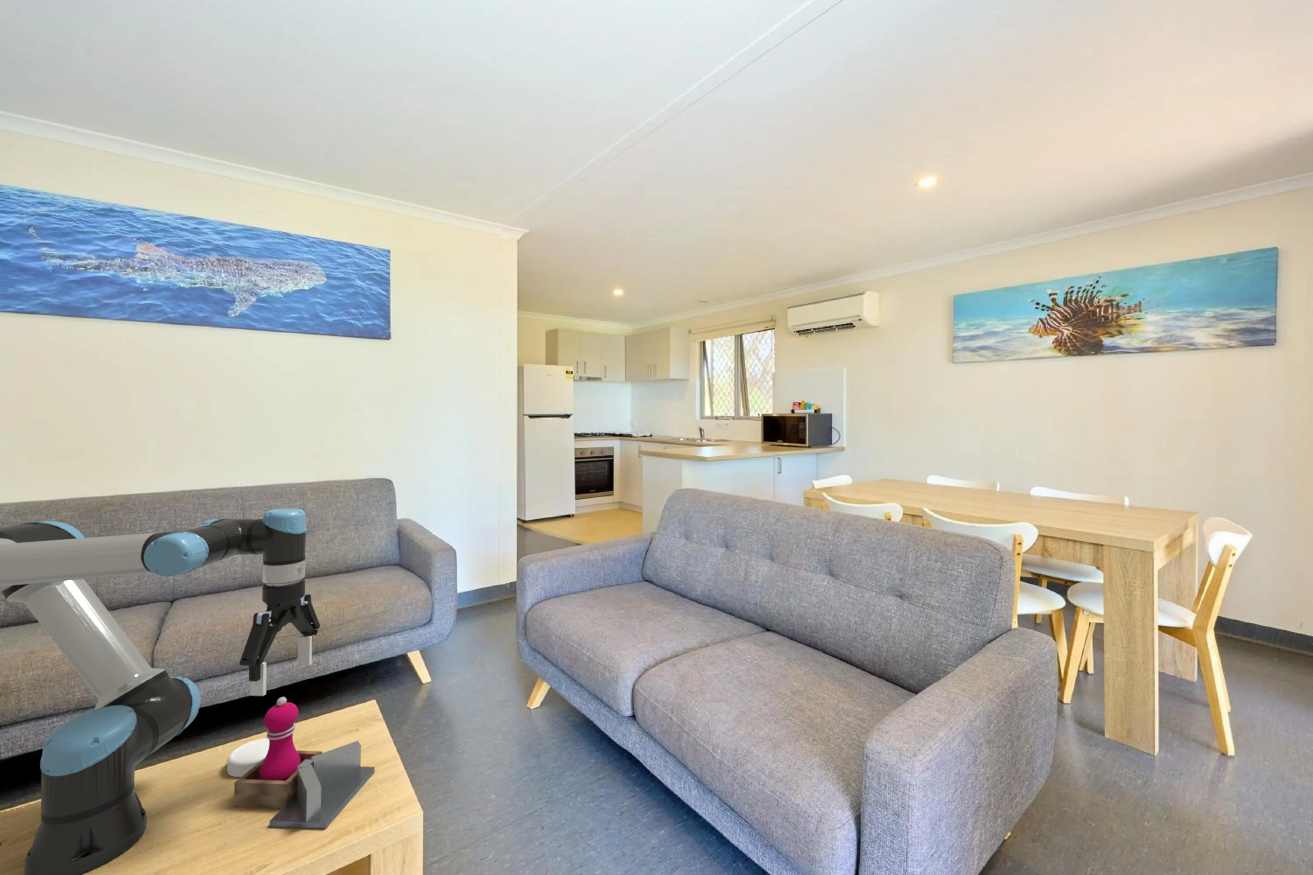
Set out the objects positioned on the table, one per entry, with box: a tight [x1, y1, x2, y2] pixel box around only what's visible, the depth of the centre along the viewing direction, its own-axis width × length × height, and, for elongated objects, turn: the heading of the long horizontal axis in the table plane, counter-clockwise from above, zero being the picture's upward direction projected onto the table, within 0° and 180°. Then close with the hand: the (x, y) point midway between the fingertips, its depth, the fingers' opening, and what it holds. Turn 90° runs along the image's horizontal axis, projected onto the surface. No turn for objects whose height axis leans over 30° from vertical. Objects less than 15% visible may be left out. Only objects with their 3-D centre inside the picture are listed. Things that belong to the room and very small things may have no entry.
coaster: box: [226, 737, 269, 778], centre depth 121 cm, size 10×10×4 cm
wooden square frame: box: [233, 749, 323, 809], centre depth 112 cm, size 11×11×5 cm
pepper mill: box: [260, 696, 301, 781], centre depth 112 cm, size 7×7×20 cm
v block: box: [269, 740, 376, 830], centre depth 110 cm, size 17×11×7 cm, turn 179°
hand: (282, 678), depth 112 cm, fingers open, 13 cm apart
